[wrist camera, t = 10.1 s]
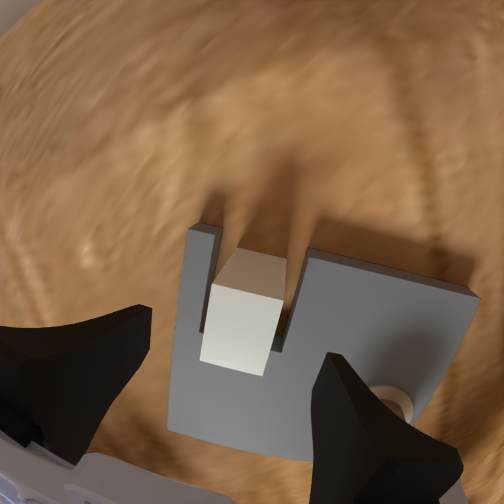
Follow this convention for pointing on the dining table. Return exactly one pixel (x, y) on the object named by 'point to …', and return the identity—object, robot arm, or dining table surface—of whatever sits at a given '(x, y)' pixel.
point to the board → (311, 347)
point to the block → (244, 311)
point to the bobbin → (394, 400)
